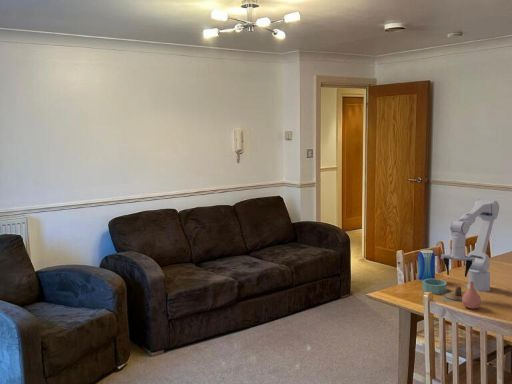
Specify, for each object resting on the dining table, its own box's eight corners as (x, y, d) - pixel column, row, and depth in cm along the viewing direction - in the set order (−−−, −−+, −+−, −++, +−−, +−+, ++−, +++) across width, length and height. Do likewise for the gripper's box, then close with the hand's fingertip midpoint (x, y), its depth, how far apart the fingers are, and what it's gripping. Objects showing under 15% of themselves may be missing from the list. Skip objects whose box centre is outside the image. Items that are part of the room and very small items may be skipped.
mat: (472, 293, 239) (472, 292, 238) (476, 304, 225) (476, 303, 225) (441, 292, 242) (441, 291, 242) (443, 302, 229) (443, 301, 229)
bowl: (445, 288, 248) (445, 279, 247) (447, 295, 237) (447, 286, 237) (421, 286, 251) (422, 278, 250) (423, 294, 240) (423, 285, 240)
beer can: (435, 284, 254) (436, 253, 252) (418, 283, 256) (418, 253, 254) (433, 279, 262) (433, 249, 260) (416, 278, 264) (417, 249, 262)
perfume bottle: (474, 304, 225) (474, 278, 223) (484, 310, 217) (485, 283, 216) (458, 306, 223) (458, 280, 222) (468, 312, 216) (468, 285, 214)
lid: (470, 293, 238) (470, 283, 237) (473, 302, 226) (474, 292, 226) (443, 291, 241) (443, 282, 240) (445, 300, 230) (445, 290, 229)
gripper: (441, 246, 230) (440, 275, 231) (476, 249, 225) (474, 279, 227) (441, 244, 237) (440, 272, 238) (475, 246, 232) (473, 275, 233)
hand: (456, 275), depth 233 cm, fingers open, 7 cm apart
